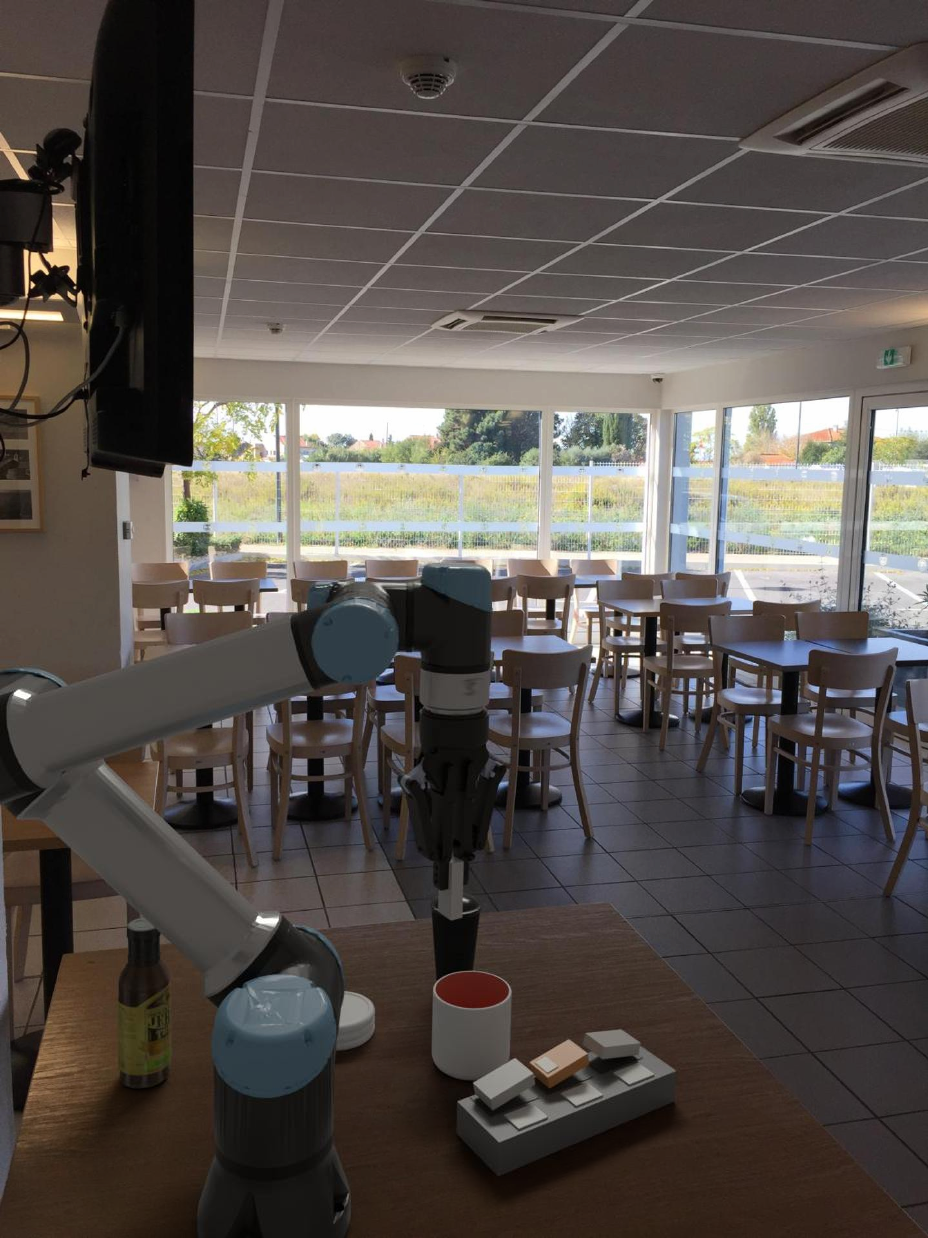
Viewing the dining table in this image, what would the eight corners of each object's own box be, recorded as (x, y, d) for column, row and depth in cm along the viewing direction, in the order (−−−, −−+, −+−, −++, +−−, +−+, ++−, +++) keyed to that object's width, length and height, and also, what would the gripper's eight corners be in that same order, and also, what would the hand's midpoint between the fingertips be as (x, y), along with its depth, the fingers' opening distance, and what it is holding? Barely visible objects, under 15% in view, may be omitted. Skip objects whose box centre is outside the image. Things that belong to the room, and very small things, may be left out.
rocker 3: (602, 1059, 123) (604, 1047, 123) (583, 1045, 126) (585, 1033, 126) (638, 1055, 126) (640, 1043, 126) (618, 1041, 129) (621, 1029, 129)
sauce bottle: (156, 1095, 123) (152, 939, 120) (109, 1088, 124) (104, 933, 121) (181, 1066, 129) (178, 916, 126) (136, 1059, 130) (132, 911, 128)
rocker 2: (549, 1088, 119) (547, 1077, 118) (531, 1073, 122) (529, 1061, 121) (589, 1064, 122) (587, 1053, 121) (570, 1049, 125) (568, 1038, 124)
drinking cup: (462, 1011, 144) (465, 875, 141) (417, 996, 148) (419, 863, 145) (489, 989, 150) (493, 858, 147) (445, 974, 154) (448, 847, 151)
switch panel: (498, 1176, 110) (499, 1141, 109) (456, 1133, 117) (457, 1100, 116) (674, 1101, 124) (676, 1069, 123) (627, 1067, 131) (629, 1036, 130)
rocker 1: (492, 1110, 114) (490, 1099, 114) (474, 1094, 117) (473, 1083, 117) (535, 1084, 117) (533, 1073, 117) (516, 1069, 120) (515, 1058, 120)
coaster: (321, 1007, 144) (322, 984, 144) (386, 1021, 141) (386, 997, 141) (286, 1044, 135) (286, 1019, 135) (355, 1059, 132) (355, 1034, 131)
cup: (502, 1090, 126) (504, 1014, 124) (423, 1079, 127) (424, 1004, 126) (514, 1046, 135) (517, 975, 134) (441, 1036, 137) (442, 966, 136)
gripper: (419, 721, 103) (416, 941, 107) (524, 707, 110) (517, 914, 114) (384, 706, 110) (382, 914, 113) (485, 694, 117) (480, 890, 120)
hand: (450, 914), depth 113 cm, fingers closed
